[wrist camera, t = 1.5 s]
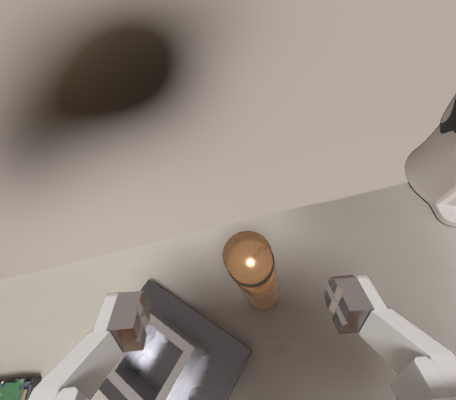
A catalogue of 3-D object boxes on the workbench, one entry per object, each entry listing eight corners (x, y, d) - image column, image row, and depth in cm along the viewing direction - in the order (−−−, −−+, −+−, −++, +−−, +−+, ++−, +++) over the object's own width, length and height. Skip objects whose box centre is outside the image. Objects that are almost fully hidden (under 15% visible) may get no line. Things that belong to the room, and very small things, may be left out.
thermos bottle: (285, 286, 36) (281, 242, 23) (270, 317, 34) (257, 289, 21) (256, 271, 38) (237, 222, 25) (241, 299, 36) (212, 263, 23)
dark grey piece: (251, 350, 33) (245, 348, 28) (189, 478, 28) (169, 501, 23) (153, 281, 40) (135, 271, 36) (90, 371, 35) (61, 372, 31)
